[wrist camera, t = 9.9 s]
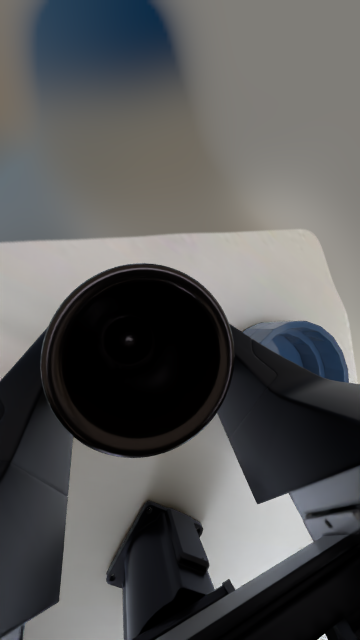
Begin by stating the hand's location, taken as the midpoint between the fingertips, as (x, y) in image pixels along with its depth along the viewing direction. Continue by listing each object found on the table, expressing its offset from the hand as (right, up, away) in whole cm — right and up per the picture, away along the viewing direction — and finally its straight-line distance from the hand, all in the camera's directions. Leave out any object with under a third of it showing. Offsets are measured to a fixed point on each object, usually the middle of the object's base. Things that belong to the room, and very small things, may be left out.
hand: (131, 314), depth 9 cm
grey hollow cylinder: (-2, -2, +6) cm, 7 cm away
